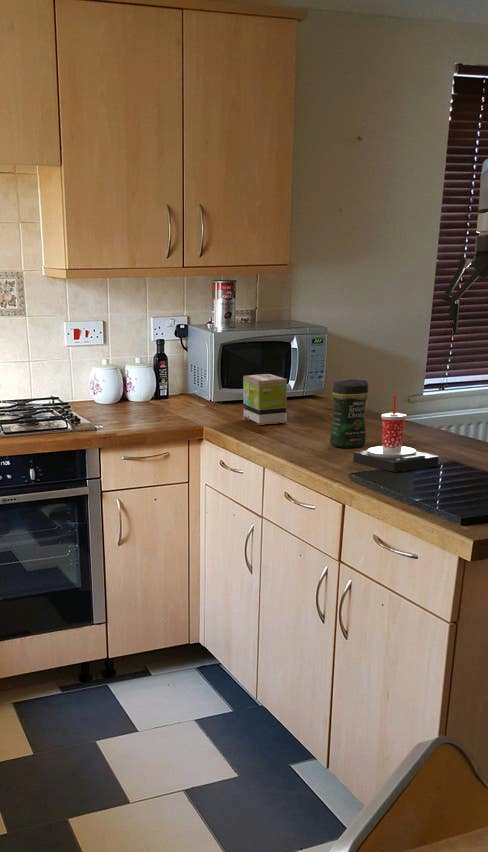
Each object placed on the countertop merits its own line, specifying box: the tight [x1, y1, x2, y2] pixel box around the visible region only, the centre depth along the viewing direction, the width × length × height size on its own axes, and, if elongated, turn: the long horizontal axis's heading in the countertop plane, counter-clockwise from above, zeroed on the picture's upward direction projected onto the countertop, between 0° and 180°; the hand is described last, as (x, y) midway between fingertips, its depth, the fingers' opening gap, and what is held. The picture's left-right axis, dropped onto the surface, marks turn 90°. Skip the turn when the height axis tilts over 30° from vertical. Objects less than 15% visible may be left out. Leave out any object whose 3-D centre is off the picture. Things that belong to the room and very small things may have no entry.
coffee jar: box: [329, 378, 369, 449], centre depth 244 cm, size 10×8×19 cm
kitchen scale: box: [352, 445, 440, 473], centre depth 223 cm, size 16×14×3 cm
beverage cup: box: [380, 394, 407, 452], centre depth 221 cm, size 6×6×14 cm
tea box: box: [242, 373, 288, 423], centre depth 288 cm, size 15×10×15 cm
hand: (485, 332), depth 202 cm, fingers open, 13 cm apart
